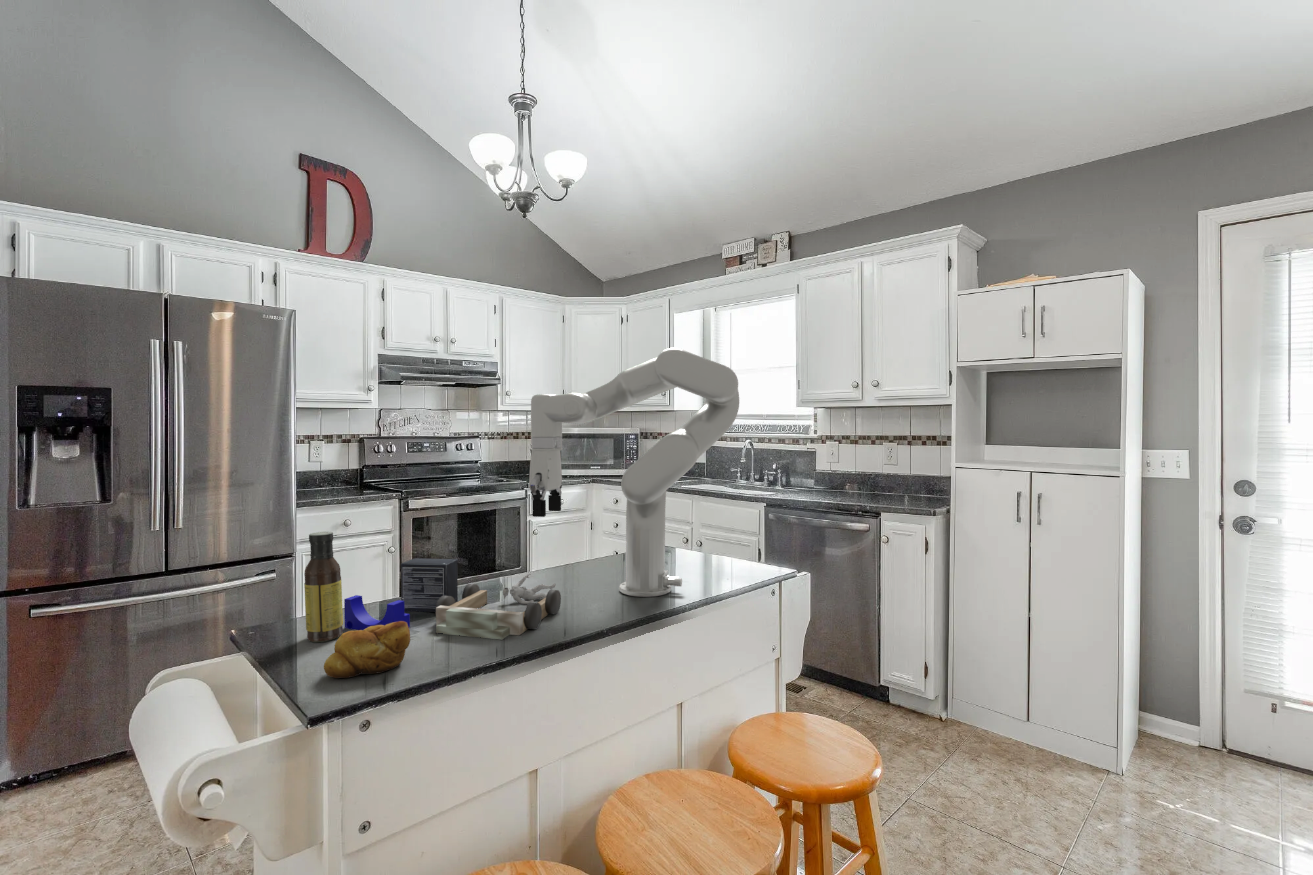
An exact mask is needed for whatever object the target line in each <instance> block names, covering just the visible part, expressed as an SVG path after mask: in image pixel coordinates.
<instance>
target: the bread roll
mask: <svg viewBox="0 0 1313 875" xmlns="http://www.w3.org/2000/svg"><path fill="white" fill-rule="evenodd" d="M410 643H411V631H410V628H409V627H408V625H407V622H404V621H398V622H393V623H389V624H386V625H385V626H384V625H376V626H370V627H368V628H366V629H364V630H348V631H346V632H343V633H342V635H340V636H339V637H337V639H336V641H335V644H334V652H333V653H331V654H330V655H329V656H328V657H327V658H326V659H325V661H324V664H323V669H324V672H325V674H326V676H328V677H330V678H334V679H349V678H353V677H355V676H356V677H357V676H359V675H361V674H364V675H368V674H370V675H371V674H381V673H383V672H387V671H389V670H393V669H395V668H396V667H398V666H399V665H400V664H401V663H402V661H403V659H404V658H405V655H406V650H407V649H408V648H409V646H410Z"/></svg>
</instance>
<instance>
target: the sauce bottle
mask: <svg viewBox="0 0 1313 875" xmlns="http://www.w3.org/2000/svg"><path fill="white" fill-rule="evenodd" d="M333 540H334V533H333V531H318V532H312V533H310V534H308V542H309V544H310V545H309V546H310V547H309V548H310V554H309V555H310V559H309V562H308V564H306V567H305V570H304V587H303V588H304V606H305V610H304V611H305V630H306V637H307V640H308V641H309V642H311V643H325V642H329V641H333V640H336V639H338V638H339V637H340V636H341V635H342V634H343V633H344V630H343V629H344V627H343V625H344V616H343V614H344V613H343V609H344V608H343V592H342V591H343V589H342V588H343V587H342V575H341V566H340V564H339V562H338V561H337V560H336V558H335V557H334V551H333V548H334V547H333V545H334V544H333V543H334V542H333Z"/></svg>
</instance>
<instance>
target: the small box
mask: <svg viewBox="0 0 1313 875" xmlns="http://www.w3.org/2000/svg"><path fill="white" fill-rule="evenodd" d="M458 561H459V560H458V558H455V559H454V558H415V557H414V558H412V559H409V560H407V561H404V562H402V563H400V574H401V576H400V583H401V584H400V590H401V592H400V593H401V596H400V600H401V601H404V612H414V611H416V613H417V612H418V613H419V611H420V612H423V611H424V612H423V613H435V608H436V604H437V602H438V600H439V598H440V597H441V596H452V597H453V598H454V600H455V603H456V602H458V599H459V598H458V592H459V591H458V589H459V588H458V570H459V569H458ZM402 598H404V599H402Z"/></svg>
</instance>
